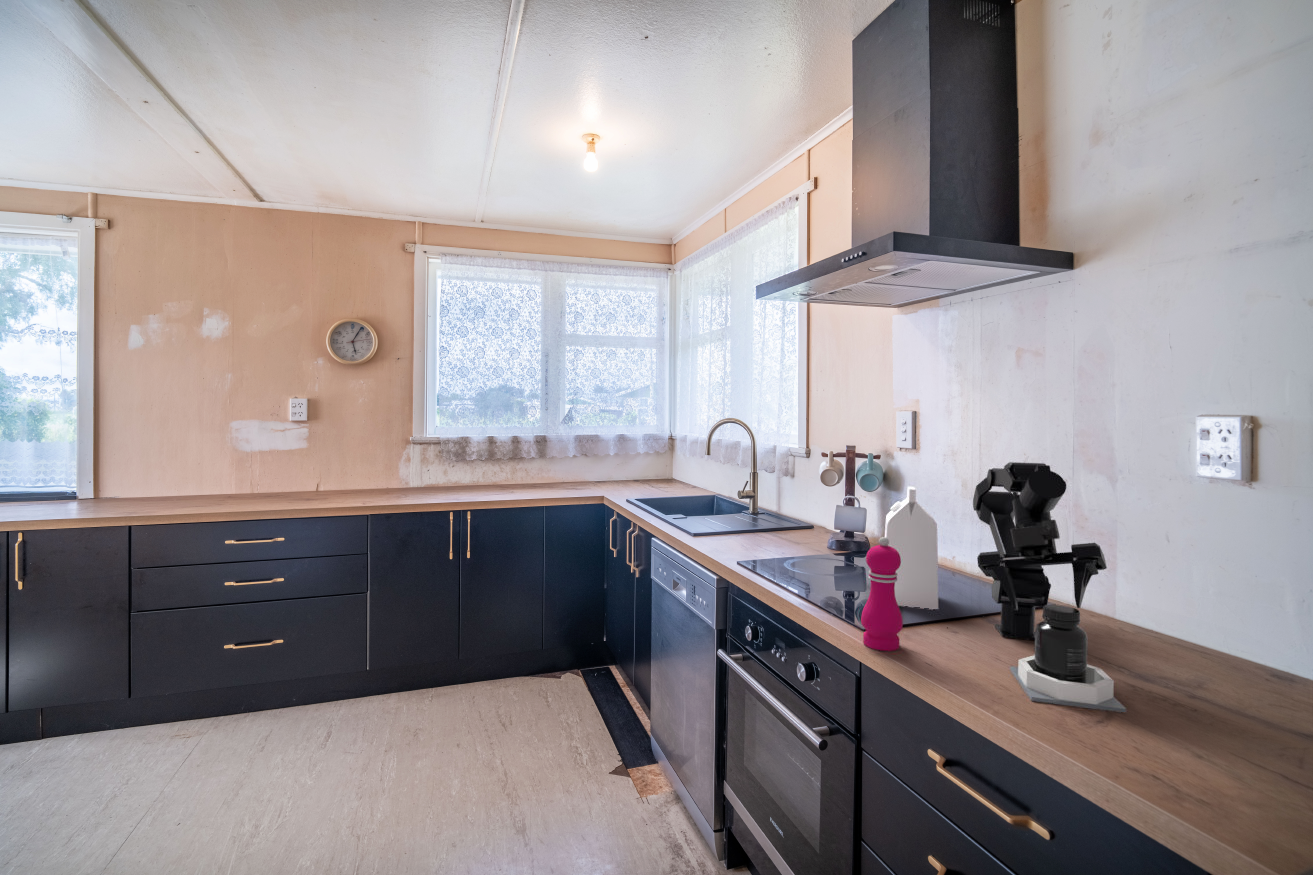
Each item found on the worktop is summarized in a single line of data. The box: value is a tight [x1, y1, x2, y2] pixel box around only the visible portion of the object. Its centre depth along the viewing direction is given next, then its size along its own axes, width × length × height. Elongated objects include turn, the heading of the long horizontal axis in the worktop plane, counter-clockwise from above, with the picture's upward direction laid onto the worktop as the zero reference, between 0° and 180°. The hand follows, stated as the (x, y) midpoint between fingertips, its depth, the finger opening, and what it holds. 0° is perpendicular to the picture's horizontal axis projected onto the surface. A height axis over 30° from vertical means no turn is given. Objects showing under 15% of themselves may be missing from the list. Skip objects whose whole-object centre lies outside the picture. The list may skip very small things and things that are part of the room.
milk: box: [884, 486, 939, 610], centre depth 142 cm, size 12×12×26 cm
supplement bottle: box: [1034, 604, 1088, 684], centre depth 96 cm, size 7×7×12 cm
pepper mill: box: [860, 536, 904, 652], centre depth 113 cm, size 7×7×20 cm
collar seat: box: [1009, 654, 1127, 713], centre depth 95 cm, size 12×12×3 cm
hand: (1046, 608), depth 104 cm, fingers open, 9 cm apart
